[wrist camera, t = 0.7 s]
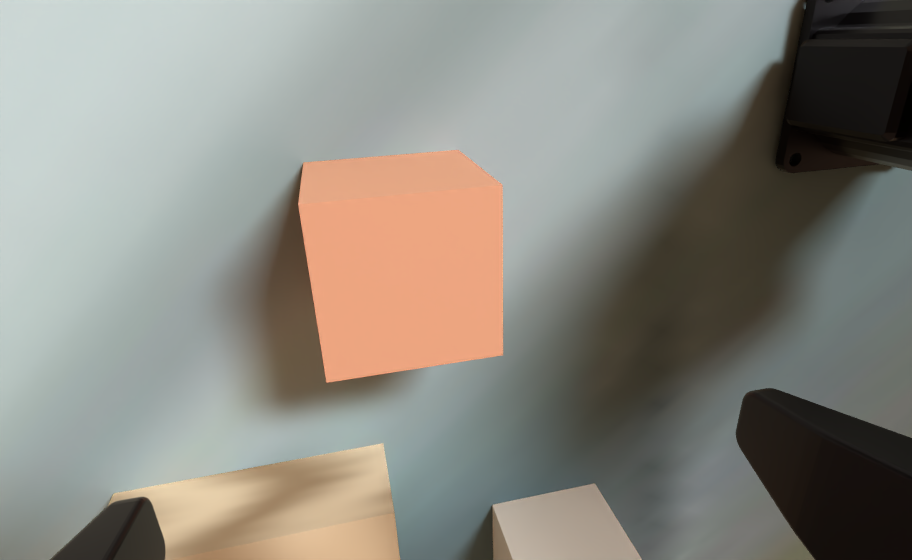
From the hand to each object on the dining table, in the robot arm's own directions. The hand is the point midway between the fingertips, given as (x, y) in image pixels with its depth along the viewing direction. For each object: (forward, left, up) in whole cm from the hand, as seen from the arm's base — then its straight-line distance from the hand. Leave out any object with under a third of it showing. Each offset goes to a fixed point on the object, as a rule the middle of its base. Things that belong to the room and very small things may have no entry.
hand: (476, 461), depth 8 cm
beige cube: (-6, +16, -12) cm, 21 cm away
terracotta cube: (0, 0, -12) cm, 12 cm away
